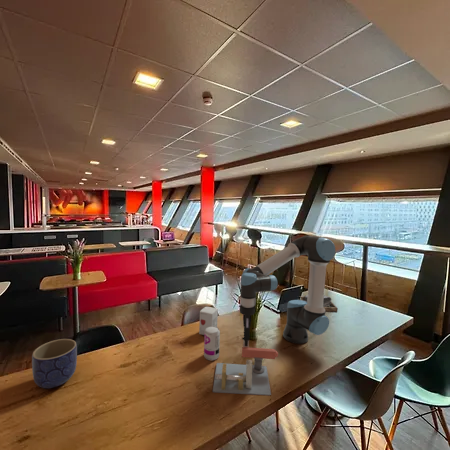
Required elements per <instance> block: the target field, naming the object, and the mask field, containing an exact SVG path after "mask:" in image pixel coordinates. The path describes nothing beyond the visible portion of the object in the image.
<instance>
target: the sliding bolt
mask: <svg viewBox="0 0 450 450" xmlns="http://www.w3.org/2000/svg"><path fill="white" fill-rule="evenodd" d="M245 365H246V376H239V375H226V381H234V382H239V379H243V382H246V388H250V389H251V386H252V365H253V360H252V359H246V364H245ZM214 380H220V381H222V374H215V373H214V379H213V381H214Z"/></svg>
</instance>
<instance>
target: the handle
mask: <svg viewBox="0 0 450 450" xmlns="http://www.w3.org/2000/svg"><path fill="white" fill-rule="evenodd" d="M278 356H279V352H278V351H277V350H276V349H275V348H263V347H262V348H261V347H250V346H249V347H243V346H242V348H241V357H242V358H249V359H250V358H252V359H254V361H255V360H259V361H260V360H262V361H263V359H266V360H276V359H277V357H278Z"/></svg>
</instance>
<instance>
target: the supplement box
mask: <svg viewBox="0 0 450 450" xmlns="http://www.w3.org/2000/svg"><path fill="white" fill-rule="evenodd" d="M218 311H219V308H217V307H210V306H205V307H203V308H202V309H200V311H199V331H198V332H199V333H198V334H199V335H202V336H204V333H205V330H206V328H207V327H210V326H214V327H217V328H218V316H219V315H218V314H219V312H218Z"/></svg>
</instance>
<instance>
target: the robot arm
mask: <svg viewBox="0 0 450 450" xmlns="http://www.w3.org/2000/svg"><path fill="white" fill-rule="evenodd" d="M336 252H337V251H336V245H335V243H334V242H333V241H332V240H331V239H329V238H325V237H321V236H314V235H303V236H301V237H300V236H299V237H298V238H296V239H294V240H292V241H291V242H289V243H288V244H287V246H286V247H284V248H283V249H281V250H279V251H278V252H277V253H275V254H273V255H272V256H270V257H268V258H267V259H265V260H264V261H262V262H261V263H259V264H258V265H256V266H254V267H251V268H250V267H248V268H245V269H244V270H243V272H242V274H241V277H240V294H239V295H240V297H239V298H238V300H239V302H240V303H239V304H240V305H239V312H240V314H241V315H242V322H243V323H242V324H243V337H242V340H243V344H242V347H249V348H250V338H251V335H250V330H251V329H250V328H251V324H252V323H251V322H252V316H253V315H255V313H256V300H257V298H256V297H257V293H261V292H262V293H263V292H271V291H274V290H277V288H278V279H277V277H276V276H275V275H273V274H272V275H271V273H273V272H274V271H276V270H277V269H279V268H280V267H282V266H284V265H285V264H287V263H288V262H289V261H291V260H293V259H294V258H299V257H300V256H307V261H308V263H309V276H308V285H307V286H308V289H307V295H308V297H307V302H305V300H303V301H302V300H299V299H292V300H289V301H288V302H287V307H286V324H285V326H284V329H283V332H282V336H283V338H284V339H285V340H286V341H288V342H290V343H293V344H299V345H302V344H306V343H307V342H309V334H308V332H310V333H311V334H313V335H316V336H320V335H323V334H324V333H326V331H327V330H328V328H329V326H330V319H329V317H328V316H326V311H325V309H324V308H323V299H324V295H325V285H326V275H327V274H326V272H327V266H328V264H330V262H331V260H333V259H334V257H335V256H336Z"/></svg>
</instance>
